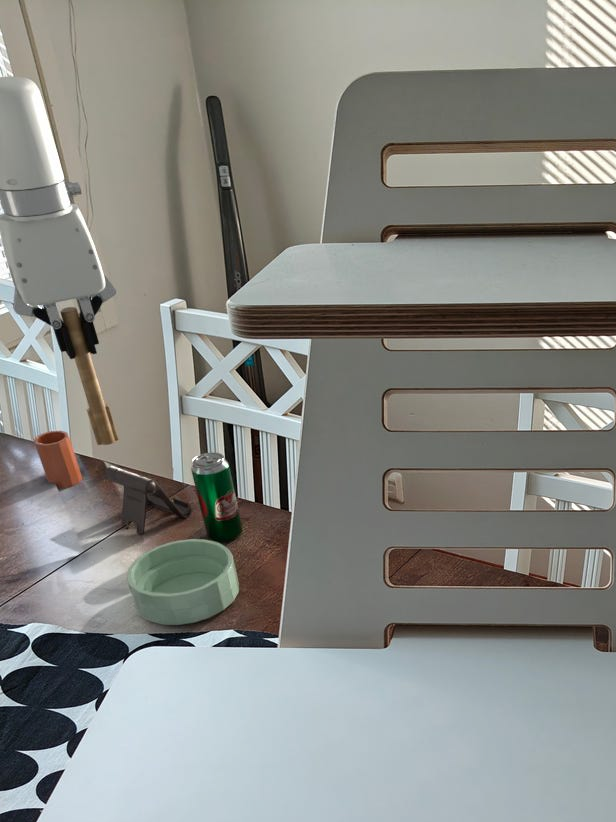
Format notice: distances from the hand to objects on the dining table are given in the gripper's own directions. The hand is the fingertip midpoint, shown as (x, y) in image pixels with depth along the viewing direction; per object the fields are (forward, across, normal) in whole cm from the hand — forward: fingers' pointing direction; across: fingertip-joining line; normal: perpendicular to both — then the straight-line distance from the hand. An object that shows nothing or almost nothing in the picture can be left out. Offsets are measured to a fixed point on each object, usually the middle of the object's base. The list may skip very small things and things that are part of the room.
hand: (81, 352), depth 125 cm
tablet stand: (+27, -3, -3) cm, 28 cm away
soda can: (+27, -11, +8) cm, 31 cm away
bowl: (+27, -2, +20) cm, 34 cm away
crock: (+27, +5, -22) cm, 35 cm away
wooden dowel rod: (+13, 0, 0) cm, 13 cm away
